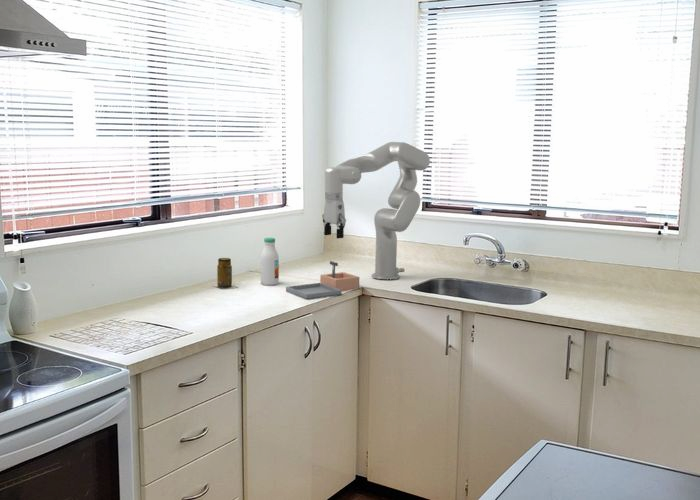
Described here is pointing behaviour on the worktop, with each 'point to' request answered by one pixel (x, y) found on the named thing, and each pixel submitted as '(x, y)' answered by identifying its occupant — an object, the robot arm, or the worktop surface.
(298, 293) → the tray
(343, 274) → the ring
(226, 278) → the condiment
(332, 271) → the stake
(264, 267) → the milk bottle
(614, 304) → the worktop surface
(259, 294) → the worktop surface
